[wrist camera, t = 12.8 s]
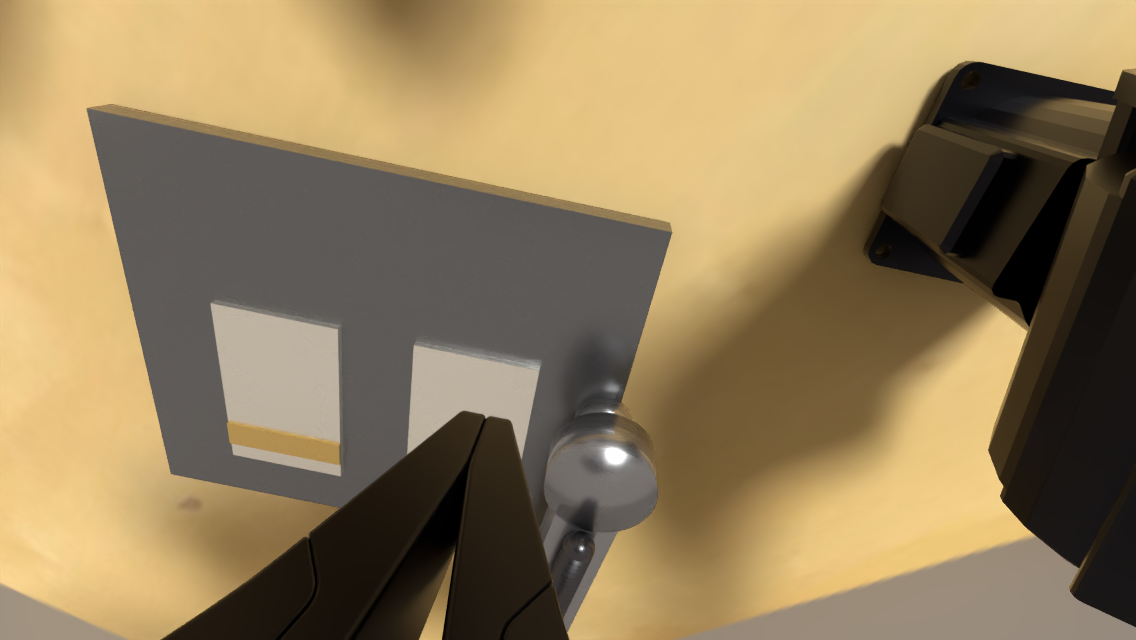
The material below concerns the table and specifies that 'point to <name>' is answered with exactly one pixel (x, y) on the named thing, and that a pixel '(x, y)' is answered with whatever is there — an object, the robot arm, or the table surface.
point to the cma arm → (593, 498)
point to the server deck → (359, 304)
